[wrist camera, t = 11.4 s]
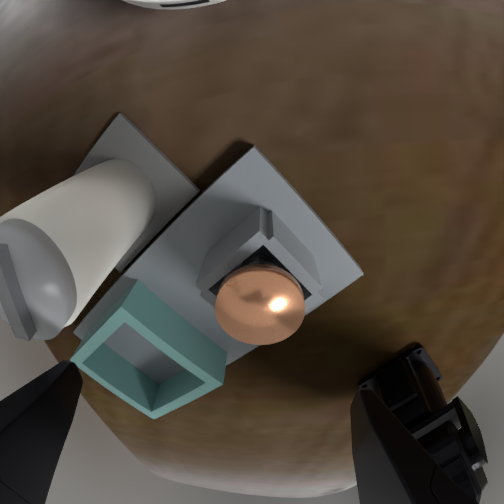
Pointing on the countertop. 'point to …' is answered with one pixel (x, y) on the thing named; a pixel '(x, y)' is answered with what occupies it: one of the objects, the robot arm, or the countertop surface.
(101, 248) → the cartridge
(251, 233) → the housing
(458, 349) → the countertop surface
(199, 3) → the showerhead
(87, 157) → the mat
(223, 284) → the plunger
